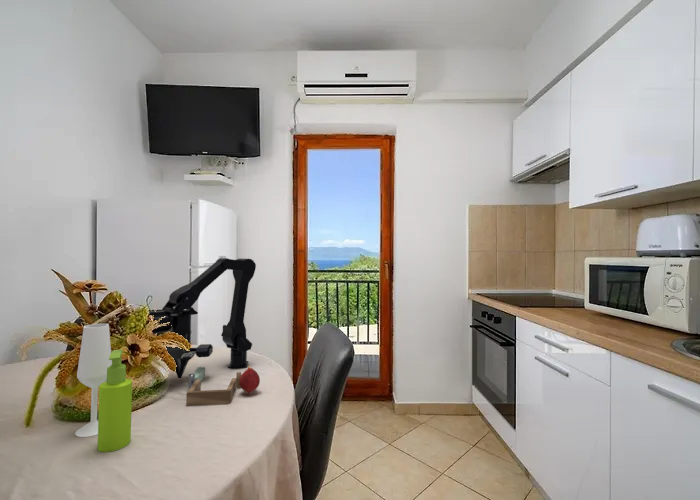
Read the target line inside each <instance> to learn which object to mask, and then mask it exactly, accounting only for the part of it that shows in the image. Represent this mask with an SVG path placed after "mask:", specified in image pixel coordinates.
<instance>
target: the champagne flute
mask: <svg viewBox="0 0 700 500" xmlns="http://www.w3.org/2000/svg"><path fill="white" fill-rule="evenodd" d="M109 325H110V324H109V323H92V324H88V325H84V326H83V330H82V337H81V344H80V351H79V358H78V365H77V366H78V367H77V373H76V377H77V378H76V379H78V381H79V382H80V383H81V384H83V385H84V386H86V387H88V388H91V399H90V403H91V404H90V422H88V423H86V424H84V425H83V426H81V428H79V429H77V430H76V431H75V433H74V434H75V436H77V437H80V438H87V437H88V438H89V437H93V436H98V401H99V385H100V384H102V383H104V382H106V381H107V368H108V367H109V366H110V365H112V360H109V356H110V354H111V352H112V346H111V336H110V335H111V334H110V326H109Z"/></svg>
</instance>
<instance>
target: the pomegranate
mask: <svg viewBox="0 0 700 500" xmlns="http://www.w3.org/2000/svg"><path fill="white" fill-rule="evenodd" d="M260 382H261V379H260V375H259V373H258V372H257V371H256V370H255V369H253V368H252V367H251V366H249V365H247V369H245V370H244V371H243V372H242V373H241V377H240V381H239V384H240V387H241V388H240V389H242V390H243V391H244V392H245V394H249V395H250V394H252V393H253V392H254V391H256V389H258V387H259V386H260Z"/></svg>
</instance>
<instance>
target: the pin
mask: <svg viewBox="0 0 700 500" xmlns="http://www.w3.org/2000/svg"><path fill="white" fill-rule="evenodd" d="M194 383H195V374H193V373H191V374H188V390H189V389H190V388H191V386H192V385H193V384H194Z"/></svg>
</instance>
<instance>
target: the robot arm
mask: <svg viewBox="0 0 700 500" xmlns="http://www.w3.org/2000/svg"><path fill="white" fill-rule="evenodd" d="M256 269H257V264H256V262H255V261H254V260H253V259H251V258H237V259H231V258H228V257H227V258H226V257H220V258H217V260H215V262H214V263H212V265H210V266H209V267H208V268H207V269H206V270H204V271H203V272H202V273H201V274H200V275H198V277H196V278H194V280H192V281H191V282H189V283H187V284H185V285H183V286H181V287H179V288H177V289H175V290H174V291H172V292H171V293H170V295H169V296H168V297H169V298H168V300H167V301H166V303H165V304H164V306H163V307H162V308H161V310H158V311H157V310H156V311H150V310H149V311H148V312H149V313H150V315H154V319H155V320H158V319H159V318H161V317H164V316H167V317H165V318H162V320H160V322H159V323H162V324H163V323H167V322H170V324H169V325H167V326H162V327H159V328H157V329H155V330H153V334H152V335H155V334H162V333H168V332H169V331H170V333H171V332H175V333H178V334H179V335H182V336H183V337H184V338H185V339H187V340H188V342H189V343H190V344H191V345H192V342H191V337H192V329H191V328H192V327H191V326H192V316H193V315H198V314H199V312H198V311H197V310H195V308H194V307H193V306H194V304H195V303H196V302H197V301H198V300H199V297H200V295H201V293H202V292H203V291H204V290H205V289H207V288H208V287H209V286H210V285H211V284H213V283H214V281H216V280H217V279H218V278H219V277H220V276H221V275H223V274H224V273H225V272H226V271H228V270H229V271H230V270H231V271H232V275H233V279H234V289H233V295H232V302H231V310H230V315H229V316H230V317H229V321H227V324H223V325H222V332H221V334H220V336H221V337H222V338H221V339H222V341H223V343H224V344H225V345H226V348H227V349H230V362H229V364H228V366H227V368H228V369H240V368H245V369H246V368H248V366H249V361H248V359H247V358H248V356H247V355H248V351H250V350H251V349H252V347H253V343H252V342H251V341H250V340H249V339H248V338H247V328H246V325H245V313H246V305H247V298H248V291H249V284H250V281H251V280H252V279H253V277H254V275H255V273H256ZM171 325H172V326H171ZM165 346H166V345H165ZM166 348H167V351H168V353H169V354H170V355H171V356H172V357H173V358H174V360H175V362H176V365H177V367H176V371H175V373H176V376H177V379H182V378H183V375H184V373H185V371H186V367H187V365H188V363H189V362H190V360H192V358H194V357H195V356H196V357H198V358H208V357H210V356H211V355H212V354H213V351H214V346H213V345H212V344H210V343H208V344H207V343H205V344H203V343H201V344H199V345H198V346H197V347H191V348H190V351H186V350H183V349H180V348H178V347H175V348H172V347H167V346H166Z"/></svg>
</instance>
